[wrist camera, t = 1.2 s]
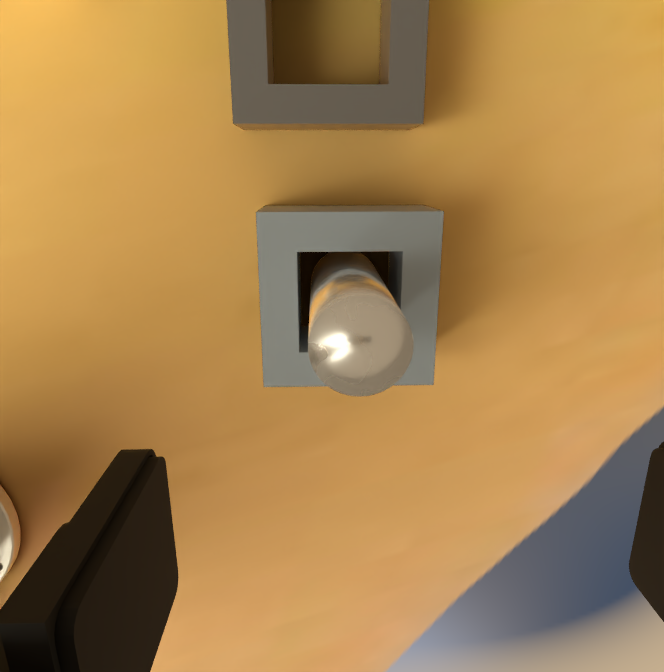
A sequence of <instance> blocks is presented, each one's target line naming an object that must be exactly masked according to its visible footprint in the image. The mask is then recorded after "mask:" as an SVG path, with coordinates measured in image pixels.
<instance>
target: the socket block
mask: <svg viewBox="0 0 664 672" xmlns="http://www.w3.org/2000/svg"><path fill="white" fill-rule="evenodd" d="M443 218H444V211H441V210H438V209H435V208H432V207H428V206H425V205H283V206H264V207H263V208H261V209H260V210H258V211H257V212H256V224H257V246H258V269H259V292H260V314H261V337H262V360H263V382H264V387H307V386H327V385H326V384H324V383H323V382H322V381H321V380H320V379H319V377H318V376H317V375H316V373H315V371H314V370H313V368H312V365H311V363H310V359H309V355H308V335H309V325H304V326H302V324H301V274H300V252H362V251H389V268H388V290H389V292H390V293H391V295H392V297H393V298H394V300H395V302H396V303H397V305H398V307H399V308H400V310H401V311H402V313H403V315H404V316H405V318H406V320H407V321H408V323H409V325H410V328H411V331H412V334H413V340H414V349H413V355H412V359H411V362H410V364H409V367H408V368H407V370H406V372H405V373H404V375H403V376H402V377H401V378H400V379H399V380H398V381H397V382H396V383H395V384H394V385H433V384H434V367H435V351H436V334H437V317H438V301H439V284H440V268H441V251H442V235H443Z"/></svg>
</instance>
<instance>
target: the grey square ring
mask: <svg viewBox="0 0 664 672" xmlns="http://www.w3.org/2000/svg"><path fill="white" fill-rule="evenodd" d="M226 1H227V19H228V38H229V56H230V75H231V93H232V112H233V124H235V125H236V126H238V127H240V128H242V129H243V130H410V129H412V128H415V127H417V126H419V125H421V124H423V120H424V98H425V77H426V55H427V34H428V12H429V0H381V26H380V70H379V84H274V66H273V35H272V3H271V0H226Z"/></svg>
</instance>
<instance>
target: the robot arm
mask: <svg viewBox="0 0 664 672" xmlns="http://www.w3.org/2000/svg"><path fill="white" fill-rule="evenodd" d="M20 532H21V529H20V525H19V520H18V515H17V513H16V510H15V508H14V506H13V504H12V501H11V499H10V498H9V496H8V495H7V493H6V492H5V490H4V489H3V488H2V486H1V485H0V582H1V581H2V579H3V578H4V577H5V576H6V574H7V573H8V572H9V571H10V569H11V567H12V565H13V563H14V562H15V560H16V558H17V555H18V551H19V547H20ZM629 569H630V574H631V577H632V580H633V582H634V583H635V585H636V586H637V588H638V589H639V590H640V591H641V593H642V594H643V595H644V597H645V598H646V599H647V601H648V602H649V603H650V605H651V606H652V607H653V609H654V610H655V611H656V612H657V614H658V615H659V616H660V618H661V619H662V620H663V622H664V442H663V443H661V445H660V446H659V448H657V449H655V450H653V452H652V454H651V457H650V462H649V467H648V472H647V477H646V481H645V486H644V491H643V496H642V502H641V506H640V511H639V516H638V521H637V526H636V532H635V537H634V541H633V546H632V551H631V556H630V561H629ZM177 587H178V567H177V558H176V549H175V540H174V532H173V523H172V514H171V505H170V497H169V488H168V479H167V470H166V463H165V459H164V458H163V457H156V455H155V452H154V451H153V450H152V449H138V450H121V451H120V452H119V453H118V454H117V455H116V457H115V458H114V460H113V461H112V463H111V464H110V465H109V467H108V468H107V470H106V471H105V472H104V474H103V475H102V477H101V478H100V480H99V481H98V482H97V484H96V485H95V487H94V488H93V489H92V491H91V492H90V494H89V495H88V497H87V498H86V499H85V501H84V502H83V504H82V505H81V506H80V508H79V509H78V511H77V512H76V514H75V515H74V516H73V518H72V519H71V521H70V522H68V523H65V524H63V525H62V526H61V527H60V528H59V529H58V531H57V532H56V533H55V535H54V536H53V537H52V539H51V540H50V542H49V543H48V544H47V546H46V547H45V549H44V550H43V551H42V553H41V554H40V555H39V557H38V558H37V560H36V561H35V562H34V564H33V565H32V567H31V568H30V569H29V571H28V572H27V573H26V575H25V576H24V578H23V579H22V580H21V582H20V583H19V585H18V586H17V587H16V589H15V590H14V592H13V593H12V594H11V596H10V597H9V598H8V600H7V601H6V603H5V604H4V605H3V607H2V608H1V610H0V672H150V670H151V667H152V664H153V661H154V658H155V655H156V652H157V649H158V646H159V643H160V640H161V637H162V634H163V632H164V629H165V626H166V623H167V620H168V617H169V614H170V611H171V608H172V605H173V602H174V599H175V596H176V592H177Z"/></svg>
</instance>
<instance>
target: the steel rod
mask: <svg viewBox="0 0 664 672" xmlns="http://www.w3.org/2000/svg"><path fill="white" fill-rule="evenodd" d="M413 349H414V340H413V334H412V331H411V328H410V325H409V323H408V321H407V320H406V318H405V316H404V315H403V313H402V311H401V310H400V308H399V307H398V305H397V303H396V302H395V300H394V298H393V297H392V295H391V293H390V292H389V290H388V289H387V287H386V285H385V284H384V282H383V280H382V279H381V277H380V275H379V274H378V272H377V270H376V269H375V267H374V266H373V264H372V263H371V261H370V260H369V259H368V258H367V257H366V256H364V255H363V254H361V253H359V252H331V253H329V254H327V255H325V256H324V257H323V258H322V259H320V261H319V262H318V263H317V264H316V266H315V268H314V270H313V273H312V276H311V290H310V313H309V335H308V355H309V359H310V363H311V365H312V368H313V370H314V371H315V373H316V375H317V376H318V377H319V379H320V380H321V381H322V382H323V383H324V384H326V385H327V386H328V387H330V388H331V389H333V390H335V391H337V392H339V393H342V394H345V395H350V396H369V395H374V394H377V393H380V392H382V391H384V390H386V389H388V388H390V387H391V386H393V385H394V384H395V383H396V382H397V381H398V380H399V379H400V378H401V377H402V376H403V375H404V373H405V372H406V370H407V368H408V367H409V364H410V362H411V359H412V355H413Z"/></svg>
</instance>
